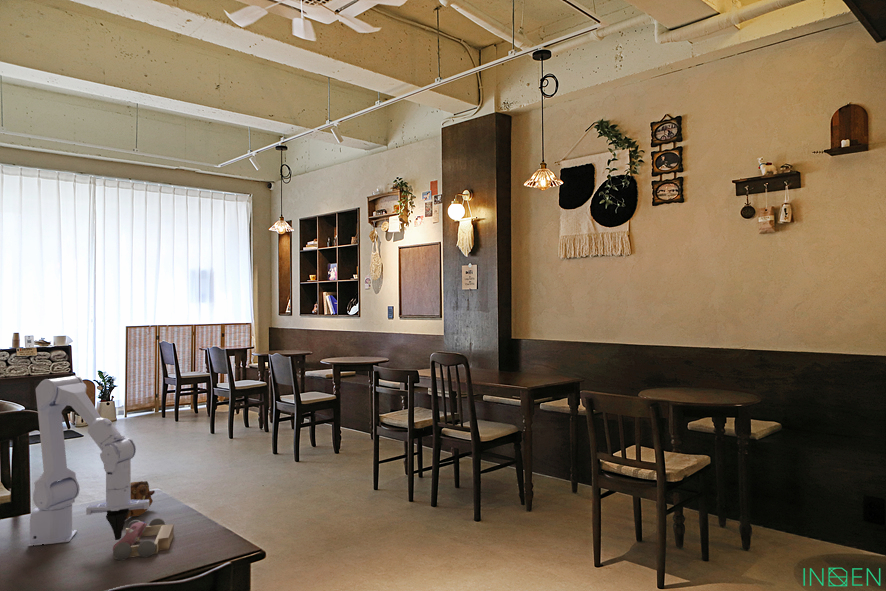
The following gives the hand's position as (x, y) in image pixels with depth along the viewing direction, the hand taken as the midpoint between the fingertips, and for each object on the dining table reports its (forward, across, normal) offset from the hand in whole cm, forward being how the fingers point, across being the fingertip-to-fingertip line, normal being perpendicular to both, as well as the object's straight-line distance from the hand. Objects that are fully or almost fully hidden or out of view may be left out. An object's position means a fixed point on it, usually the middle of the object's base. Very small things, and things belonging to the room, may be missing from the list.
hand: (118, 538), depth 159 cm
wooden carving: (+3, 0, +25) cm, 25 cm away
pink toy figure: (+3, +3, 0) cm, 4 cm away
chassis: (+2, +7, 0) cm, 7 cm away
